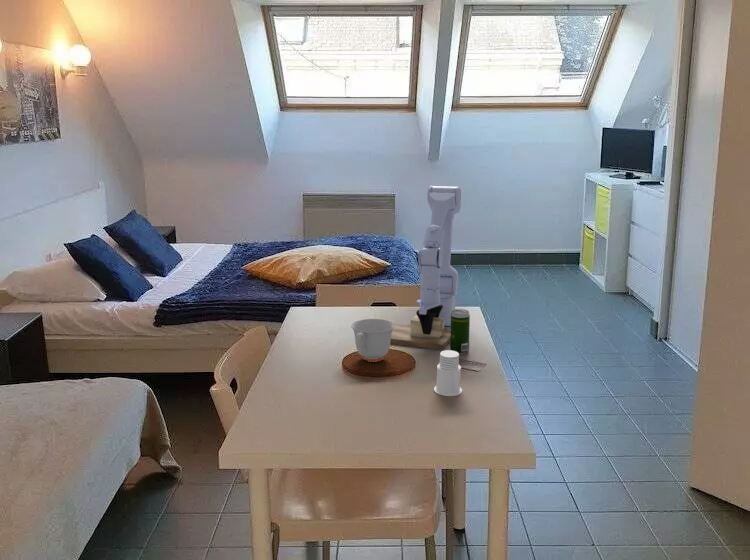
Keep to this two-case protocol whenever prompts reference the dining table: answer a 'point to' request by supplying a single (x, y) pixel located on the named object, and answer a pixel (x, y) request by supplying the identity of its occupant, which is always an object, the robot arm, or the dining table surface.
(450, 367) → the downlight
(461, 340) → the guarana soda can
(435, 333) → the block
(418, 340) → the board
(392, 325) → the teacup
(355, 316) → the dining table surface
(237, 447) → the dining table surface
